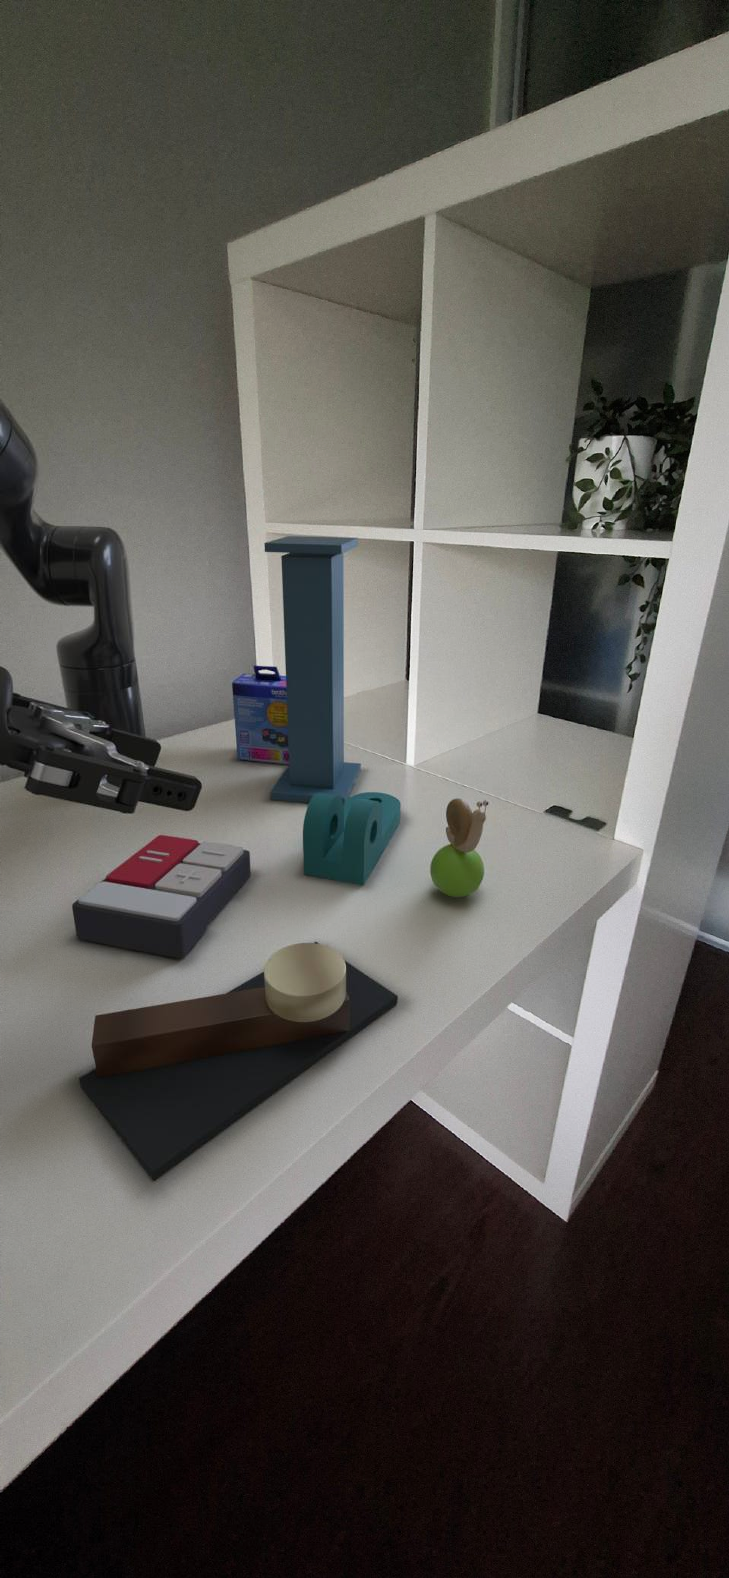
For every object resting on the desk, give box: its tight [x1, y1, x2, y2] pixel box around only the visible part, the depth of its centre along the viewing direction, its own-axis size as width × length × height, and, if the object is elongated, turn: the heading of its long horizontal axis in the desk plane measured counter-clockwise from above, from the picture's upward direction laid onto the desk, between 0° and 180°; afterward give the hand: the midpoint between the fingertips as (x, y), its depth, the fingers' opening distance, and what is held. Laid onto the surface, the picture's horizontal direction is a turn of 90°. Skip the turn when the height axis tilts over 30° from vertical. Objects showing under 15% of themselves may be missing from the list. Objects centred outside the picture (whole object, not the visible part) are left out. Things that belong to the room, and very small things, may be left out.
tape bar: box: [91, 942, 349, 1078], centre depth 50 cm, size 18×6×5 cm, turn 105°
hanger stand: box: [264, 535, 362, 805], centre depth 89 cm, size 12×10×32 cm
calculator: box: [71, 834, 252, 959], centre depth 68 cm, size 11×4×15 cm
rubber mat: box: [78, 941, 399, 1181], centre depth 52 cm, size 22×10×1 cm, turn 135°
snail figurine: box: [429, 798, 489, 898], centre depth 68 cm, size 5×6×12 cm
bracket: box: [302, 791, 402, 886], centre depth 79 cm, size 18×7×8 cm, turn 163°
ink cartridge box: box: [231, 665, 289, 766], centre depth 101 cm, size 10×6×14 cm, turn 79°
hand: (175, 774), depth 48 cm, fingers open, 8 cm apart
